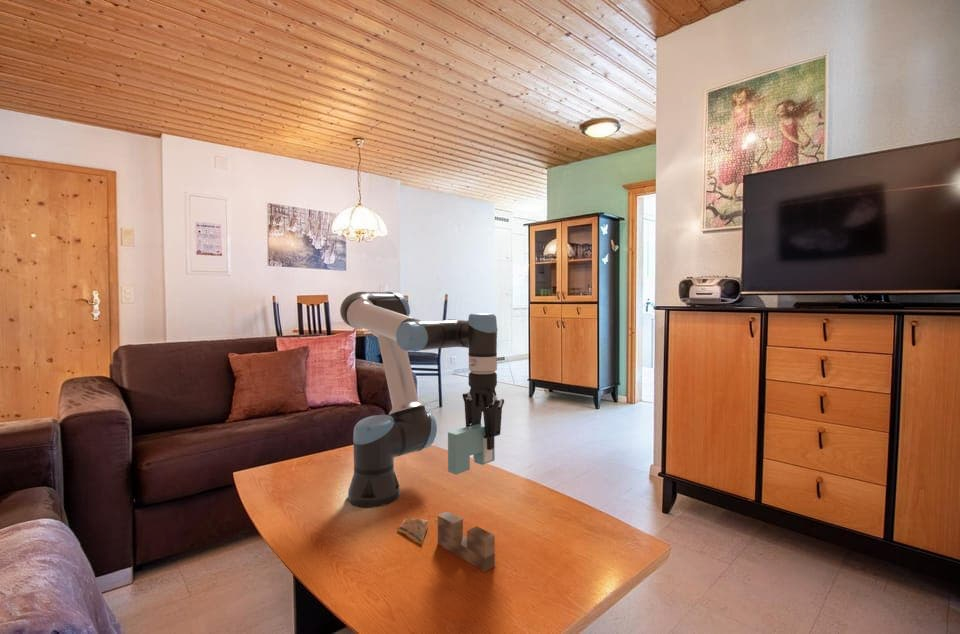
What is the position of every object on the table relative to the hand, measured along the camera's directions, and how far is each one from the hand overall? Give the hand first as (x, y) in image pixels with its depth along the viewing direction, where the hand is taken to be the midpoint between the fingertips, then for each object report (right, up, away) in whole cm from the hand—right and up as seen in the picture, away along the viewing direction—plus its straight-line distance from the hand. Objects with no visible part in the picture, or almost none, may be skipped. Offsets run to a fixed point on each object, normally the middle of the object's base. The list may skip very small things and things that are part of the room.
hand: (482, 459), depth 120 cm
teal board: (-3, -1, -3) cm, 4 cm away
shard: (-16, -17, -5) cm, 24 cm away
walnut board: (-4, -17, -16) cm, 24 cm away
